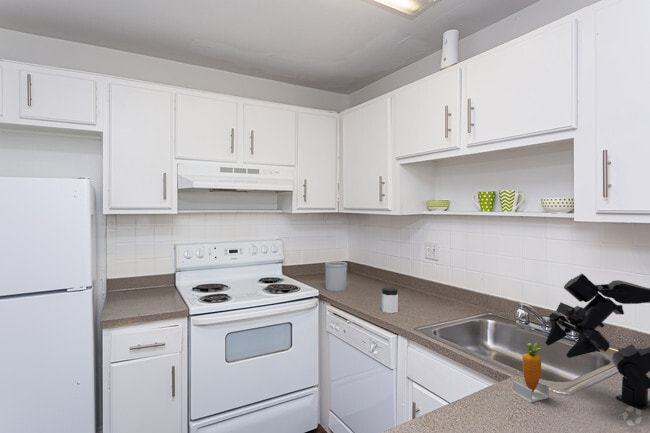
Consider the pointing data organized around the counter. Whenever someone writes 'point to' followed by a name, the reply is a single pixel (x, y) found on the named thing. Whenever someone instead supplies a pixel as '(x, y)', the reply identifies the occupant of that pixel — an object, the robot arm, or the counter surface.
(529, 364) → the carrot
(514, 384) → the white railed tray
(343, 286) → the utensil holder
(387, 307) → the jar
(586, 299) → the robot arm
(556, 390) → the counter surface
